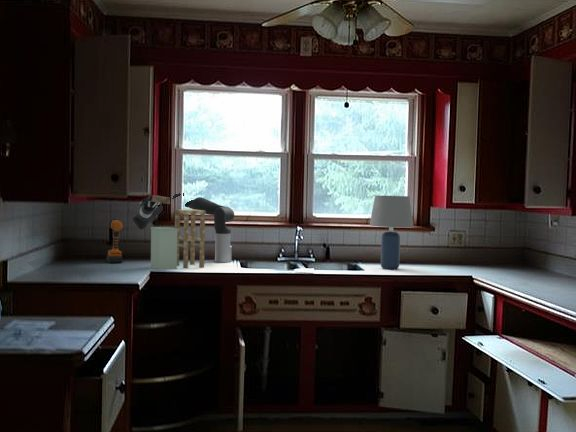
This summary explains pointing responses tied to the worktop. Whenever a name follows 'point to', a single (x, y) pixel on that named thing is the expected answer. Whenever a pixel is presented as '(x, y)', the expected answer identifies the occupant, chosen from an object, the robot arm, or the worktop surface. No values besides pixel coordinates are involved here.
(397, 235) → the lamp
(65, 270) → the worktop surface
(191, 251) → the stool
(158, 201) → the tan cardboard block
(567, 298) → the worktop surface
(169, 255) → the pale green block
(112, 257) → the power drill
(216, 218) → the robot arm
